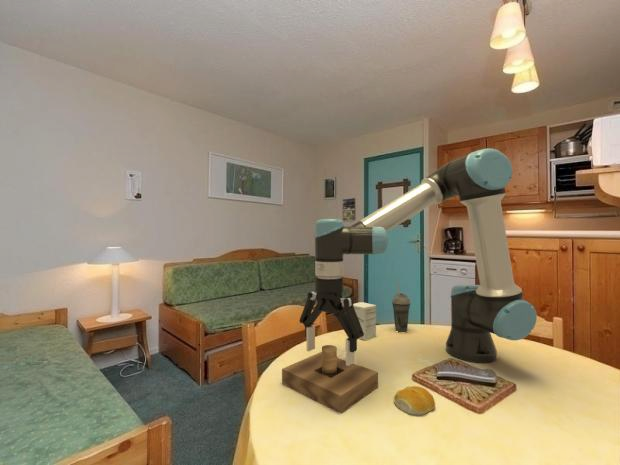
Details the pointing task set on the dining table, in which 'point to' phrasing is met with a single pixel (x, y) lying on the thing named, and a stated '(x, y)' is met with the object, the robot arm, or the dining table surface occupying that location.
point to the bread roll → (414, 400)
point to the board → (330, 382)
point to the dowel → (329, 360)
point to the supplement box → (366, 319)
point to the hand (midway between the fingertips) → (329, 356)
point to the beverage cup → (401, 311)
